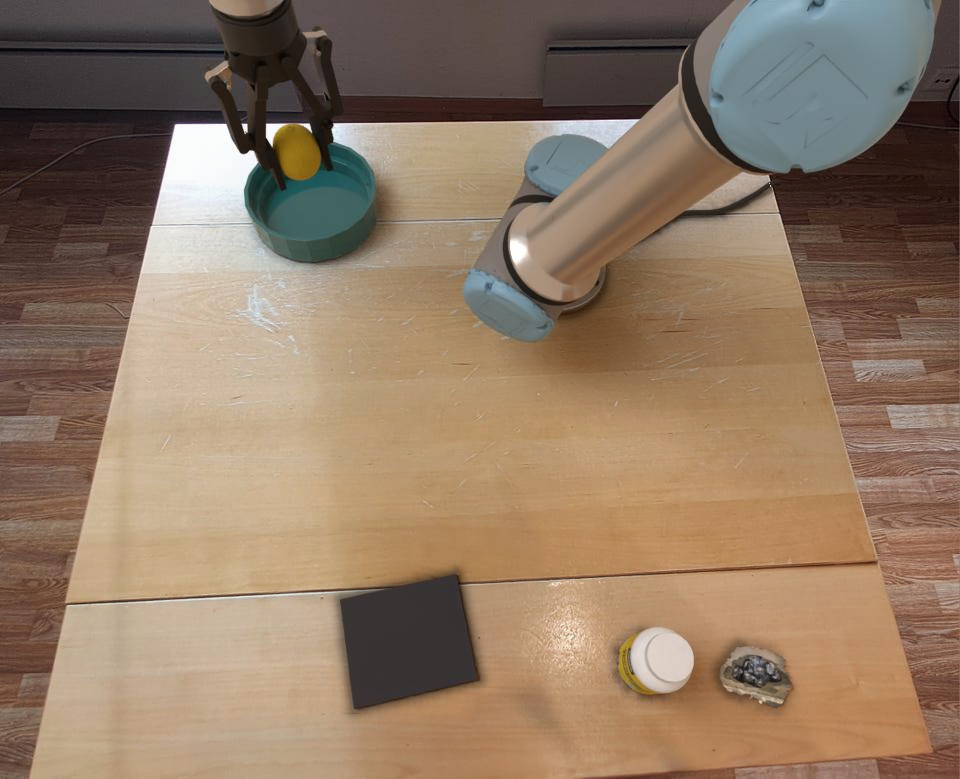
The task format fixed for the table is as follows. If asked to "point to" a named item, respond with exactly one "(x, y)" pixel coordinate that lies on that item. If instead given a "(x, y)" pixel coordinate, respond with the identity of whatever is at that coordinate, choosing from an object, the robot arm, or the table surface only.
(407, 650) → the mat
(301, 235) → the bowl
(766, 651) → the mineral rock
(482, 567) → the table surface
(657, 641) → the pill bottle
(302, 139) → the lemon
